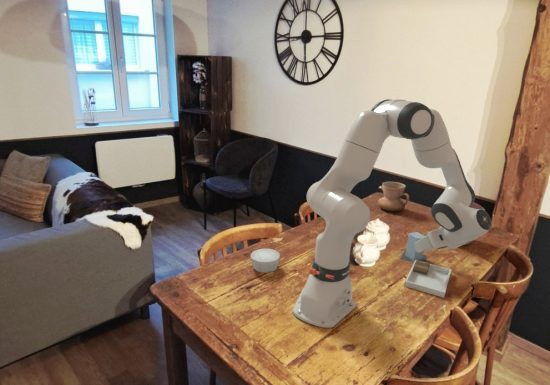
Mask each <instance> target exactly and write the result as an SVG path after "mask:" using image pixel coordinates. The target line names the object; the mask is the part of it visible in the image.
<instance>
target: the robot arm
mask: <svg viewBox="0 0 550 385" xmlns="http://www.w3.org/2000/svg"><path fill="white" fill-rule="evenodd" d="M390 136H391V137H394V138H398V139H399V138H400V139H406V140H411V144H412V145H411V146H412V149H413V152H414V157H415V158H416V161H417V162H418V164H419V165H420V166H422V167H425V168H428V169H441V172H442V174H443V176H444V179H445V182H446V184H445V188H444V191H443V192H442V193H441V194H440V196H439V197H438V198H437V200H436V201H435V202H434V203H433V205H432V206H431V208H430V214H431V216H432V219H433V220H434V221H435V222H436V223H437V224H438V225H439V226H442V227H439V228H436V229H433V230H431V231H428V232H427V235H424V237H423V238H421V239H420V240H418V241H417V242H415V244H414V246H415V249H416V252H417V253H420V252H427V251H428V252H429V251H432V250H442V249H447V250H455V249H457V248H459V247H461V246H465V245H464V244H466V243H467V242H468V241H472V242H473V241H475V240H477V239H479V238H481V237H482V236H484V235H485V234H486V233H488V232H490V231H489V230H491V226H492V219H491V217H490V215H489V213H488V212H487V211H486V209H485V210H483V209H474V208H470V207H469V206H470V205H471V204H472V203H473V202H474V203H475V199H476V193H475V191H474V189H473V187H472V186H471V184H470V183H469V182H468V180H467V177H466V175H465V172H464V170H463V167H462V165H461V161H460V158H459V156H458V153H457V152H456V150H455V149H454V148H453V146H452V143H451V140H450V135H449V132H448V129H447V126H446V124H445V121H444V120H443V117H442V115H441V113H440V112H439V111H438V110H436V109H434V108H429V107H428V106H427V105H426V104H423V103H421V102H419V101H410V100H406V99H390V98H389V99H388V98H387V99H383V100H381V101H378V102H377V103H376V104H374V106H373V107H372V108H371V110H365V111H362V112H360V113H359V114H358V115H357V117H356V119H355V120H354V122H353V123H352V125H351V127H350V128H349V130H348V132H347V134H346V136H345V138H344V142H343V143H342V146H341V148H340V150H339V153H338V155H337V157H336V159H335V160H334V163H333V164H332V166H331V167H330V169H329V171H328V172H327V173H326V174H325V175H324V176H323V177H322V178H321V179H320V180H319V181H316V182H315V183H312V185H311V186H310V187H309V188H308V190H307V192H306V201H307V204H308V206H309V207H310V208H311V210H312V211H313V212H314V213H316V214H317V215H318V216H320V217H321V218H323V219H324V221H325V229H324V231H323V232H321V233H320V234H318V235H317V237H316V239H315V250H314V254H315V255H314V257H313V261H312V264H311V267H310V268H309V270H308V274H309V275H308V277H307V280H306V282H305V284H304V286H303V288H302V290H301V292H300V294H299V295H298V298H297V300H296V301H295V303H294V306H293V309H292V314H293V315H294V316H295V317H296V318H298V319H300V320H301V321H303V322H305V323H308V324H310V325H314V326H315V327H316V326H317V327H319V328H330V329H331V328H334V327H335V326H336V325H337V324H338V323H340V321H342V320H343V319H344V318H345V317H346V316H348V314H350V313H351V312H352V311H353V310H355V308H356V307H357V304H356V302H355V301H354V299H353V284H354V283H353V282H352V280H351V277H350V270H351V262H350V257H351V256H350V255H351V249H352V248H351V247H352V243H353V240H354V237H355V236H356V234H358V233H361V232H362V231H363V230H364V229H366V227H368V224H369V223H370V220H371V210H370V208H369V206H368V205H367V204H366V203H365V202H364V201H363V199H361V198H360V197H359V196H357V195H354V194H352V193H351V192H352V190H353V189H354V188H355V186H356V185H358V183H361V182H363V181H366V180H367V179H369V177H370V176H371V173H372V170H373V169H374V166H375V164H376V162H377V161H378V159H379V158H378V157H379V155H380V153H381V150H382V148H383V145H384V143H385V141H386V139H387V140H388V137H390Z"/></svg>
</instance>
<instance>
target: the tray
mask: <svg viewBox="0 0 550 385" xmlns="http://www.w3.org/2000/svg"><path fill="white" fill-rule="evenodd" d="M417 261H418V260H417ZM415 262H416V260H415V261H414V262H412V266H411V268H410V270H409V272H408V275H407V276H406V279H405V281H404V287H406V288H410V289H412V290H416V291H419V292H424V293H426V294H430V295H434V296H436V297H440V298H445V295H446V292H447V288H448V284H449V282H450V281H449V280H450V277H451V274H452V273H451V272H452V269H451V268H448V267H443V266H441V265H437V264H432V263H429V264H430V266H429V271H428V273H427V275H424V274H420V273H417V272H413V268H414V264H415ZM421 262H422V261H421ZM425 263H427V262H426V261H425Z"/></svg>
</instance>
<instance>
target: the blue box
mask: <svg viewBox="0 0 550 385" xmlns="http://www.w3.org/2000/svg"><path fill="white" fill-rule="evenodd" d="M407 236H408V237H407V241H406V249H405V250H406V254H405V256H407V257H408V258H410V259H411V260H413V261H415V260H421V259H422V258H423V255H424V252H425V251H424V252H420V253H417V252H416V249H415V246H414V244H415V242H417V241H418V240H420V239H421V238H423V237H424V236H425V235H423V234H421V233H420V232H418V231H415V232H410V233H408V235H407Z"/></svg>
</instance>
